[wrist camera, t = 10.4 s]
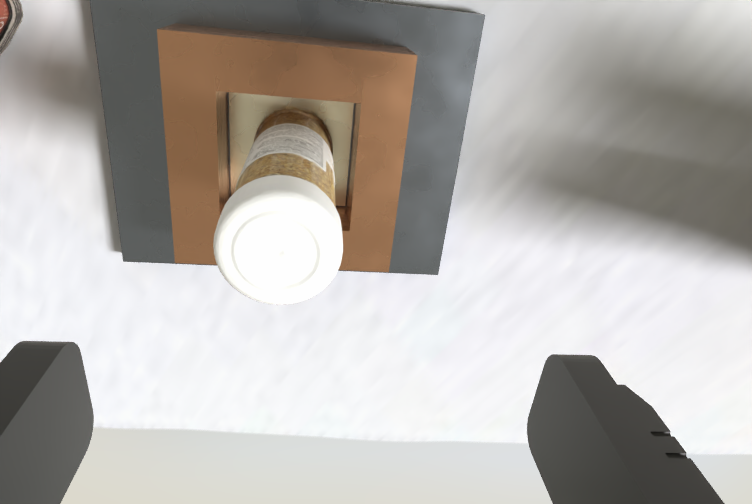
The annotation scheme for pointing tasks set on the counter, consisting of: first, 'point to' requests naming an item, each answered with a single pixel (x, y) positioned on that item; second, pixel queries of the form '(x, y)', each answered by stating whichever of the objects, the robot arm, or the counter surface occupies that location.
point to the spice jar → (282, 214)
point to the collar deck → (278, 92)
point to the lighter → (9, 21)
